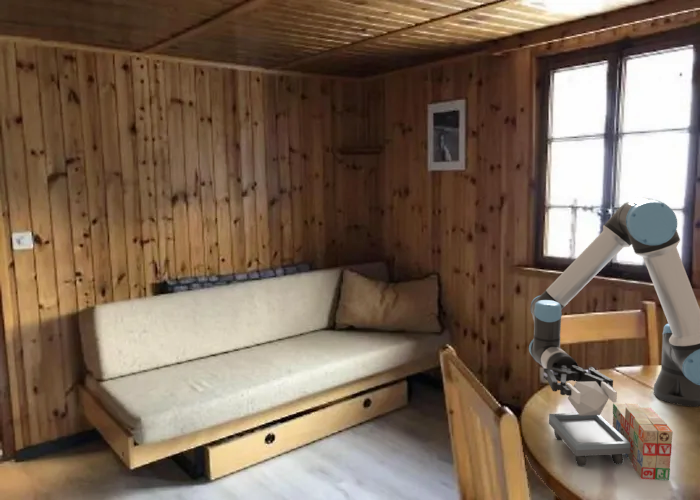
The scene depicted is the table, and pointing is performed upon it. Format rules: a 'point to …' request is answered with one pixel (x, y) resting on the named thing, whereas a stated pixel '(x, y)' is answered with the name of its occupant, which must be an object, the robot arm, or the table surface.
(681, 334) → the robot arm
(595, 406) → the die
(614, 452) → the trolley
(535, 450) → the table surface
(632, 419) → the stack of blocks
